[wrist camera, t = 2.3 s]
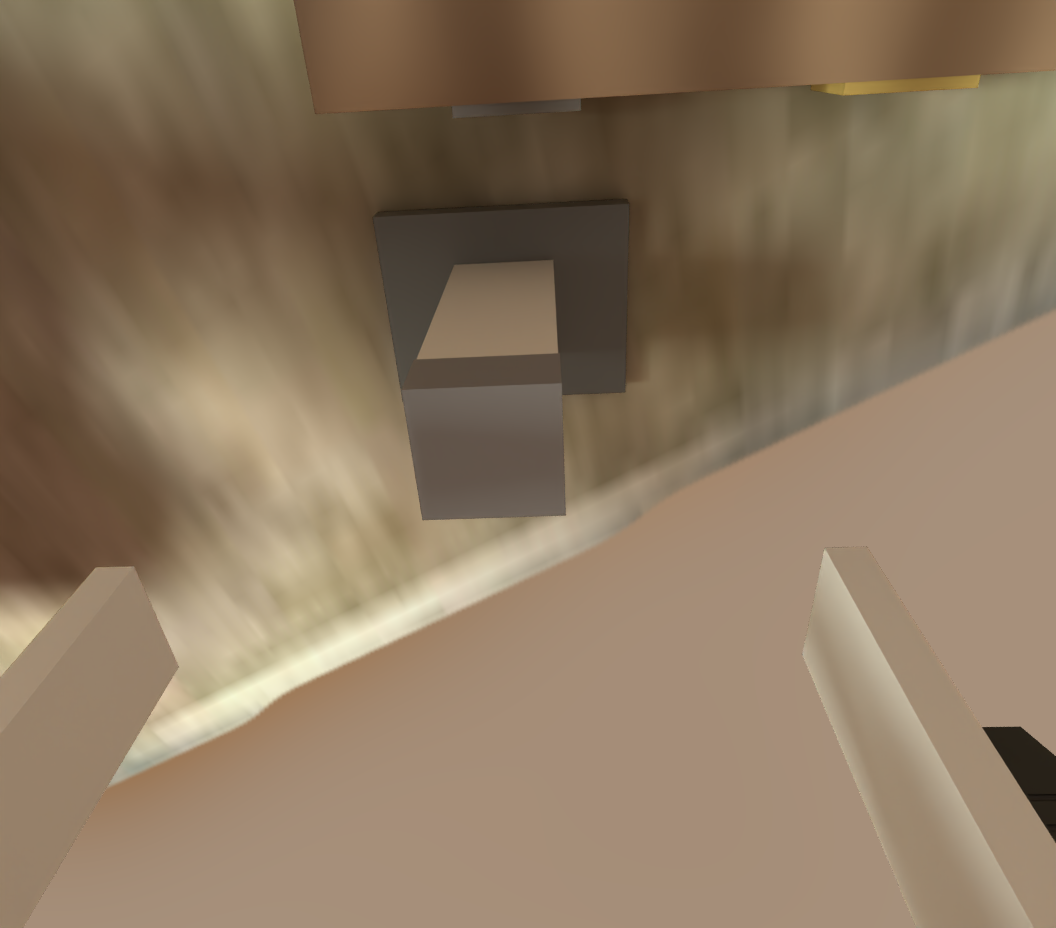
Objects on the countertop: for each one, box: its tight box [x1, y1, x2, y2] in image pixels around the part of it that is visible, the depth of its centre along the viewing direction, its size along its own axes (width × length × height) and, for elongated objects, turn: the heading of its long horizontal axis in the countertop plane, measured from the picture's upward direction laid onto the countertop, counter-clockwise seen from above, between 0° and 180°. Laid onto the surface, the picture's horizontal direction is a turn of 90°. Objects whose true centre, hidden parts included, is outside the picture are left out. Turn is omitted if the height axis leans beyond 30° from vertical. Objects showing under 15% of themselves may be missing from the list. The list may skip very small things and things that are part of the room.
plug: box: [401, 260, 566, 520], centre depth 24 cm, size 4×4×12 cm
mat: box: [373, 199, 629, 400], centre depth 29 cm, size 10×8×1 cm
